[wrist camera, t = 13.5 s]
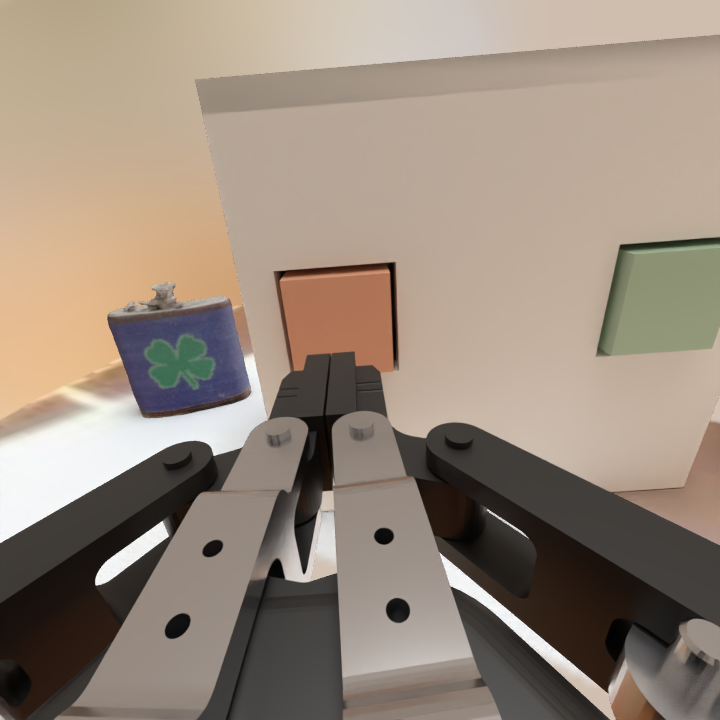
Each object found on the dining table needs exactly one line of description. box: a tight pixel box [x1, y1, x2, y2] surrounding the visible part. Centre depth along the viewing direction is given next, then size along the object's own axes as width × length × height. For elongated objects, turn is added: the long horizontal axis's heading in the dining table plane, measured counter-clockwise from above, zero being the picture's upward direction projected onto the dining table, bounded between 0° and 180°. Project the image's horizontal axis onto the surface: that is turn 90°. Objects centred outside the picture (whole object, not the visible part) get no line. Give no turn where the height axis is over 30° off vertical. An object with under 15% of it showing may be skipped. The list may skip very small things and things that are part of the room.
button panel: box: [195, 35, 720, 511], centre depth 21 cm, size 22×10×20 cm, turn 91°
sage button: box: [598, 238, 720, 356], centre depth 17 cm, size 4×4×4 cm
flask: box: [108, 283, 251, 418], centre depth 31 cm, size 9×3×11 cm, turn 104°
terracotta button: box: [279, 263, 394, 372], centre depth 18 cm, size 4×4×4 cm
